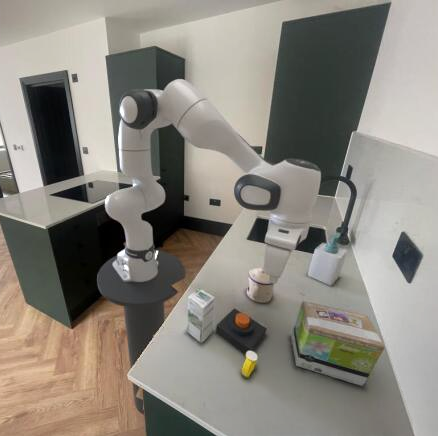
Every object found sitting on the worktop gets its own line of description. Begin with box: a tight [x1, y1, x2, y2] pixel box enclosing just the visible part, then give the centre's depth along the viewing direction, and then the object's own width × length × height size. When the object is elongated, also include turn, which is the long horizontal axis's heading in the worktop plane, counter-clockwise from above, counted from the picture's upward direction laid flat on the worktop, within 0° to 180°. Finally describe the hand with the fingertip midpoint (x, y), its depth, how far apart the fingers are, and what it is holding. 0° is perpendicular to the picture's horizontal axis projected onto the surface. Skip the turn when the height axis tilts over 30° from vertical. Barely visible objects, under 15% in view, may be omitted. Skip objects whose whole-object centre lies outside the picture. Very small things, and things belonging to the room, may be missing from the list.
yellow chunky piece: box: [241, 350, 259, 378], centre depth 59 cm, size 6×3×6 cm, turn 135°
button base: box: [215, 308, 267, 356], centre depth 70 cm, size 11×10×5 cm
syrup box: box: [186, 287, 216, 344], centre depth 69 cm, size 6×6×14 cm
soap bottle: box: [307, 232, 348, 287], centre depth 92 cm, size 9×9×19 cm
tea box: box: [290, 300, 386, 387], centre depth 60 cm, size 15×10×15 cm, turn 70°
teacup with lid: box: [246, 267, 275, 304], centre depth 83 cm, size 12×9×12 cm
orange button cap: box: [235, 312, 251, 329], centre depth 69 cm, size 4×4×2 cm
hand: (277, 272), depth 62 cm, fingers open, 8 cm apart
